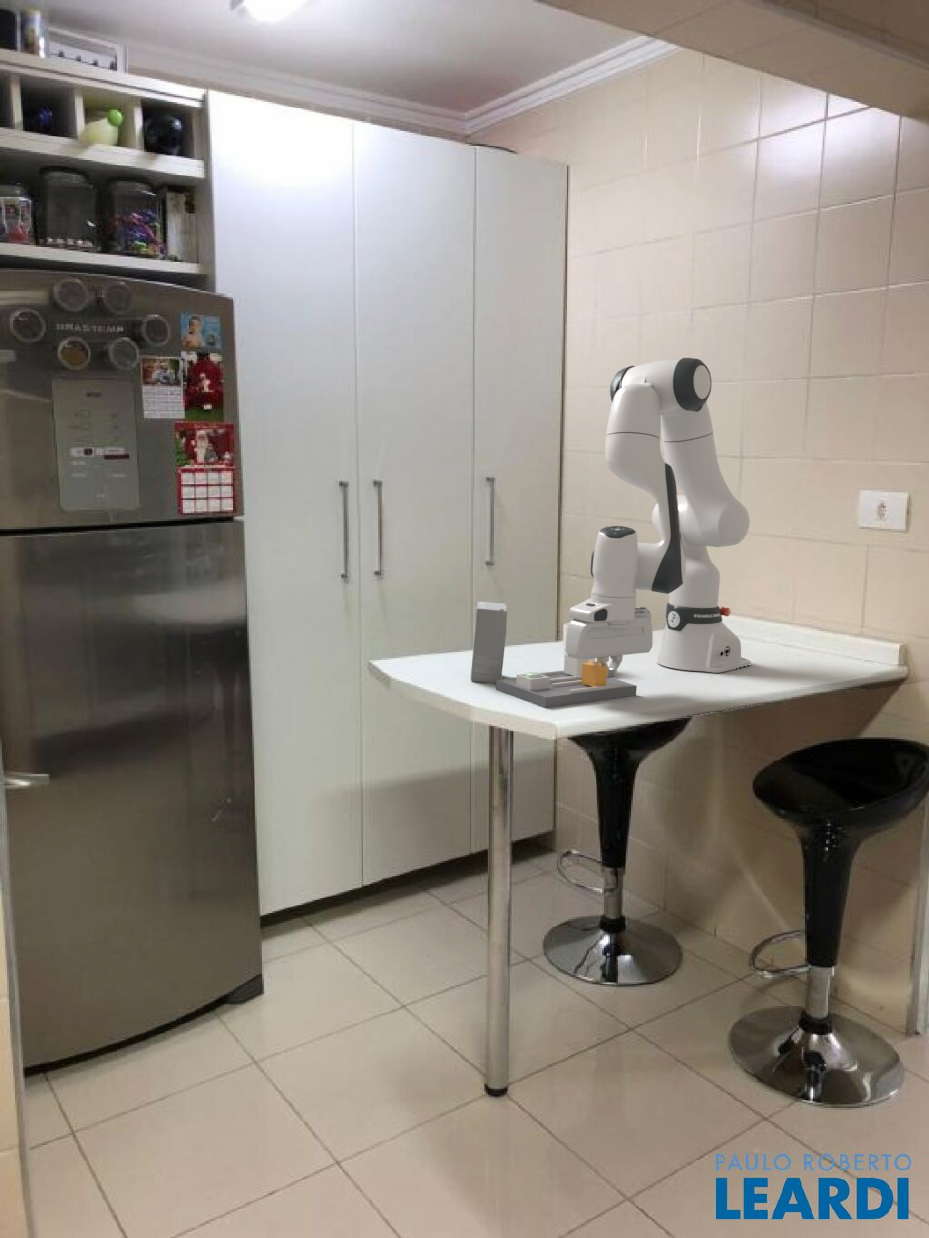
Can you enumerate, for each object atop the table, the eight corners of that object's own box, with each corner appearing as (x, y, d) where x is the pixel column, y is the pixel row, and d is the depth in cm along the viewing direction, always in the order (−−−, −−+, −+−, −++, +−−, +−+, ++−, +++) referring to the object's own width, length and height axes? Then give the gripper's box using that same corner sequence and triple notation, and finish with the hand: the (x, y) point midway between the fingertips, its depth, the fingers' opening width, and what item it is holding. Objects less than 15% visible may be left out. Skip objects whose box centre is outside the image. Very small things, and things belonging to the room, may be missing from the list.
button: (534, 681, 197) (534, 671, 197) (543, 684, 195) (544, 674, 195) (522, 682, 196) (522, 672, 196) (531, 685, 193) (531, 675, 193)
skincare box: (471, 673, 215) (473, 600, 212) (504, 674, 214) (507, 602, 212) (470, 682, 206) (472, 606, 204) (504, 683, 206) (507, 608, 204)
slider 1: (575, 671, 210) (576, 650, 209) (587, 675, 206) (588, 653, 205) (564, 672, 208) (565, 651, 207) (576, 676, 205) (577, 654, 204)
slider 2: (593, 681, 201) (594, 659, 200) (606, 685, 197) (607, 663, 197) (581, 683, 199) (582, 660, 198) (594, 687, 196) (595, 664, 195)
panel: (584, 678, 213) (585, 659, 213) (636, 695, 200) (637, 674, 199) (496, 689, 201) (497, 669, 200) (544, 707, 188) (546, 686, 187)
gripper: (640, 604, 206) (635, 669, 208) (562, 609, 195) (559, 678, 197) (662, 608, 201) (657, 675, 203) (583, 614, 189) (579, 685, 192)
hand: (608, 677), depth 200 cm, fingers closed
